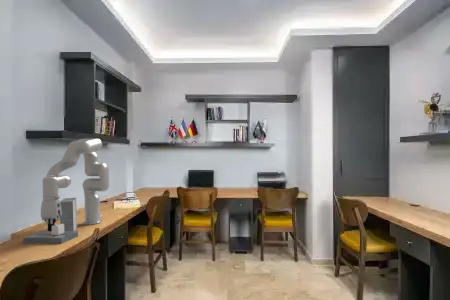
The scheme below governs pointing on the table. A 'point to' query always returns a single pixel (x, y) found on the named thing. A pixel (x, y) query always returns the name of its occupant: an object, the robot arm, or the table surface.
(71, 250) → the table surface
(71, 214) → the hard drive box
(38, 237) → the platform
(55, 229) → the fader knob
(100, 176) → the robot arm
